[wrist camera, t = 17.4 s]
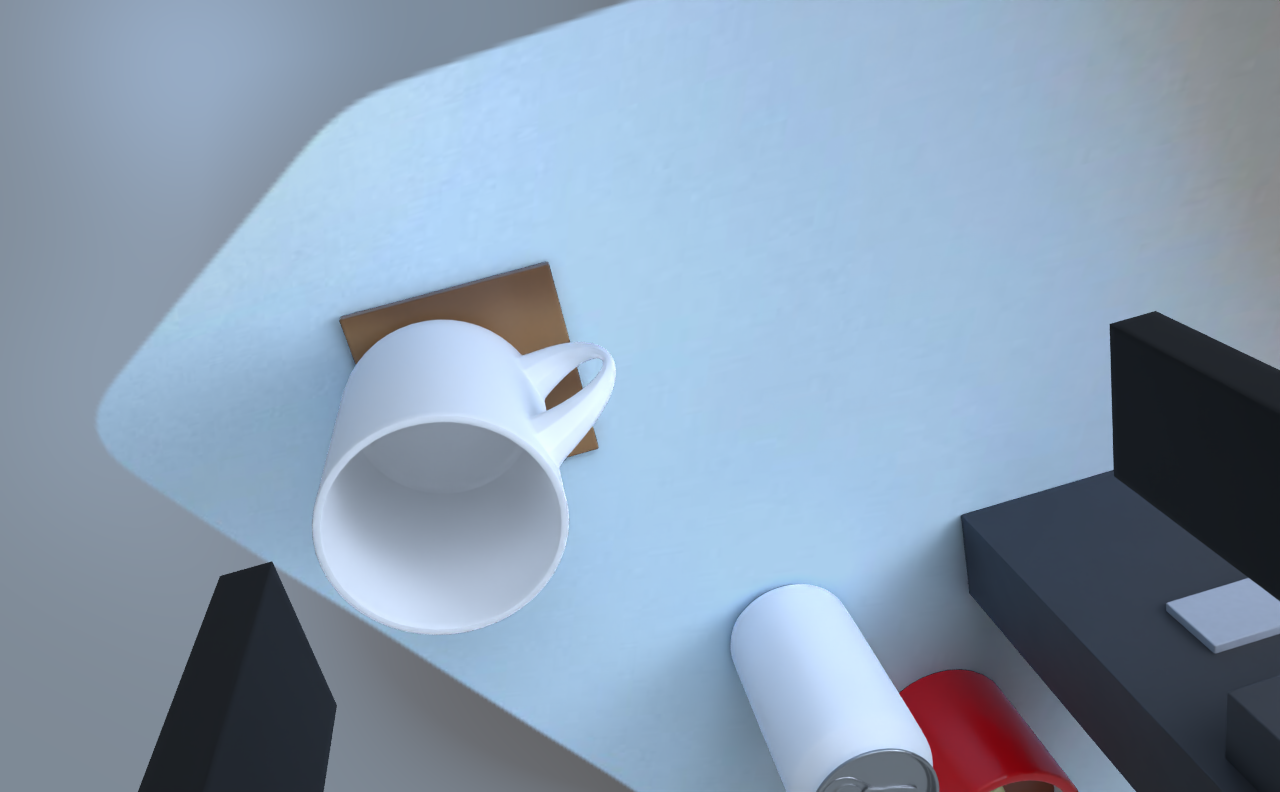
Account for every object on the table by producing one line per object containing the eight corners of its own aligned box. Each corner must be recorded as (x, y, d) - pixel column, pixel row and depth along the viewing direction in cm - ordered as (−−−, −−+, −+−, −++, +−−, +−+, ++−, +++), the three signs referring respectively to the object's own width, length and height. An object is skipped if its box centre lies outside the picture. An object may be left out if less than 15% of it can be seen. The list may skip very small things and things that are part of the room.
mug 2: (999, 819, 61) (1072, 931, 54) (847, 755, 57) (905, 868, 49) (1082, 722, 59) (1169, 826, 52) (931, 649, 55) (1004, 751, 48)
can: (745, 572, 51) (826, 737, 40) (862, 585, 52) (970, 746, 41) (713, 678, 53) (782, 861, 42) (826, 687, 54) (921, 865, 44)
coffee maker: (955, 464, 50) (1288, 786, 30) (1213, 389, 51) (1700, 653, 31) (969, 593, 54) (1276, 960, 34) (1211, 520, 55) (1650, 835, 35)
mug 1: (643, 394, 45) (696, 508, 36) (416, 527, 46) (408, 676, 36) (544, 233, 42) (573, 312, 32) (300, 380, 42) (256, 501, 33)
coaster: (340, 316, 42) (339, 320, 42) (548, 260, 43) (548, 264, 42) (407, 497, 46) (406, 503, 45) (597, 444, 47) (599, 448, 46)
